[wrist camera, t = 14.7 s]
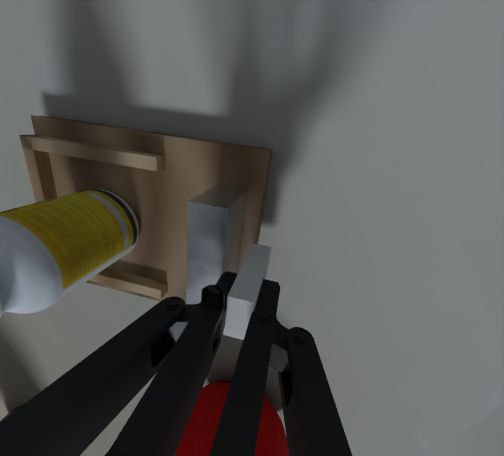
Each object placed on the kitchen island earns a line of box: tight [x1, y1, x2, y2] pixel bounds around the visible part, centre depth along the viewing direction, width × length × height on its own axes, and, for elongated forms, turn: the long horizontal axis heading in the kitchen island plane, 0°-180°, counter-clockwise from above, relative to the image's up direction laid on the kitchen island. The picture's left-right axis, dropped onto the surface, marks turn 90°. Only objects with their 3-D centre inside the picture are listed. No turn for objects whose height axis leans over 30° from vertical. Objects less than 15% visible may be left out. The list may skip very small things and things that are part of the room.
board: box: [20, 115, 272, 304], centre depth 21 cm, size 20×16×3 cm
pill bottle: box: [0, 189, 139, 318], centre depth 16 cm, size 6×6×12 cm
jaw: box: [186, 185, 247, 304], centre depth 18 cm, size 2×10×5 cm, turn 173°
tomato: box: [175, 381, 289, 456], centre depth 25 cm, size 11×13×10 cm
